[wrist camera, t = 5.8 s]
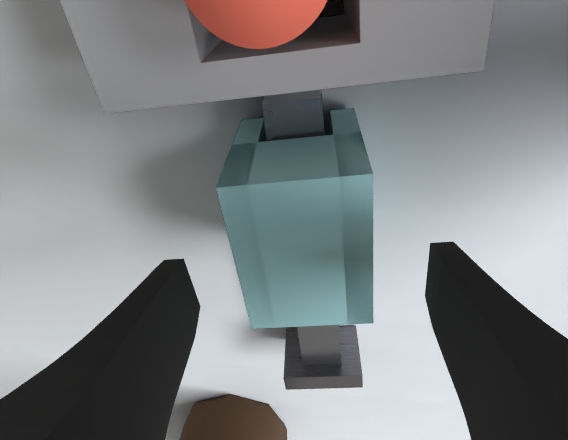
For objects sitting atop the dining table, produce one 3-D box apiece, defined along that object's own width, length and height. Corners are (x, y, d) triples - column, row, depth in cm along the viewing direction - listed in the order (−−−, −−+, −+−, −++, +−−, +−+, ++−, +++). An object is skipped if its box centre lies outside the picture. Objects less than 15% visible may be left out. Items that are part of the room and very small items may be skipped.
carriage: (353, 107, 15) (372, 174, 11) (357, 233, 19) (373, 323, 14) (241, 119, 16) (215, 188, 11) (264, 239, 19) (251, 328, 15)
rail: (346, 74, 15) (355, 101, 12) (356, 337, 23) (362, 387, 21) (241, 86, 15) (228, 114, 13) (288, 340, 24) (286, 389, 21)
